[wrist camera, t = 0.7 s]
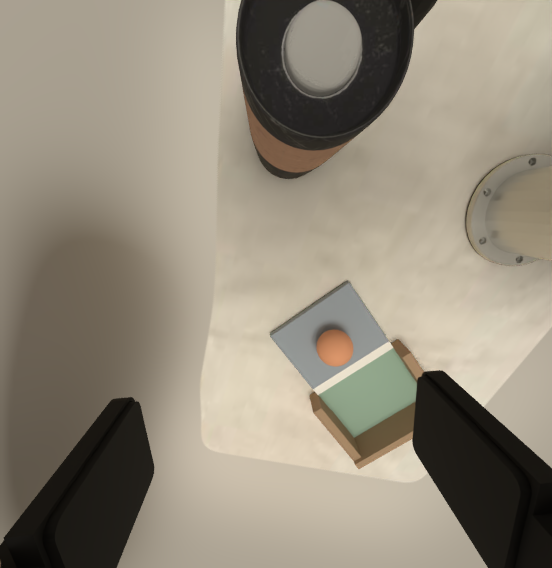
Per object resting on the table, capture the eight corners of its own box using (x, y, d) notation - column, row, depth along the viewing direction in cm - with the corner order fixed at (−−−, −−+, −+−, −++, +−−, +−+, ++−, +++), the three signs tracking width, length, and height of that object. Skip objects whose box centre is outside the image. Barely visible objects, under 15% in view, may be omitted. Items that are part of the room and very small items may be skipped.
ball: (335, 317, 35) (345, 332, 31) (354, 342, 36) (365, 360, 32) (307, 336, 36) (312, 353, 32) (325, 360, 37) (333, 380, 33)
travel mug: (288, 196, 32) (320, 180, 13) (239, 144, 31) (193, 37, 11) (337, 145, 31) (455, 42, 12) (289, 88, 29) (333, -140, 10)
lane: (355, 275, 35) (366, 283, 31) (435, 395, 40) (453, 415, 36) (262, 338, 37) (262, 353, 33) (350, 445, 42) (358, 469, 38)
